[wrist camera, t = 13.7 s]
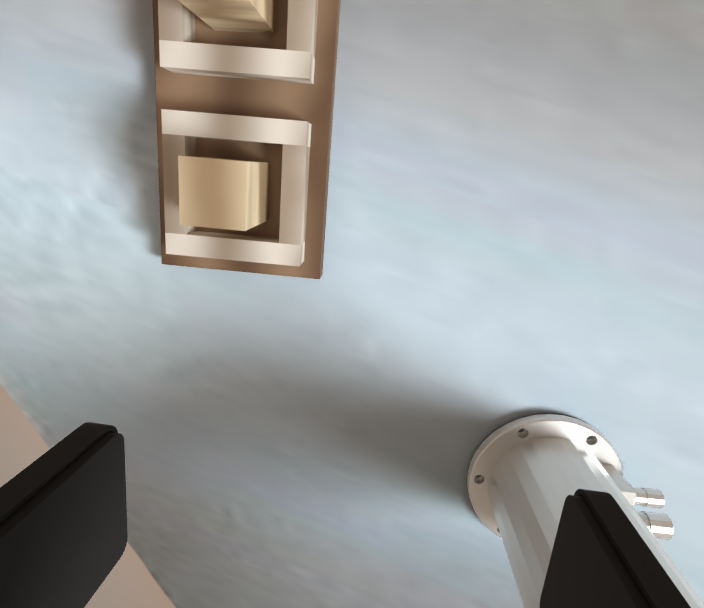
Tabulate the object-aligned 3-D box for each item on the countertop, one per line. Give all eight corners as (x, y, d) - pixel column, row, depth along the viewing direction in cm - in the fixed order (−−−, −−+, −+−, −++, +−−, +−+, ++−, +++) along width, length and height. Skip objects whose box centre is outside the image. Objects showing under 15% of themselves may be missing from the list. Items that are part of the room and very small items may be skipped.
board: (346, -97, 29) (335, -183, 22) (322, 274, 36) (307, 301, 29) (159, -110, 30) (89, -198, 22) (170, 260, 36) (118, 282, 29)
